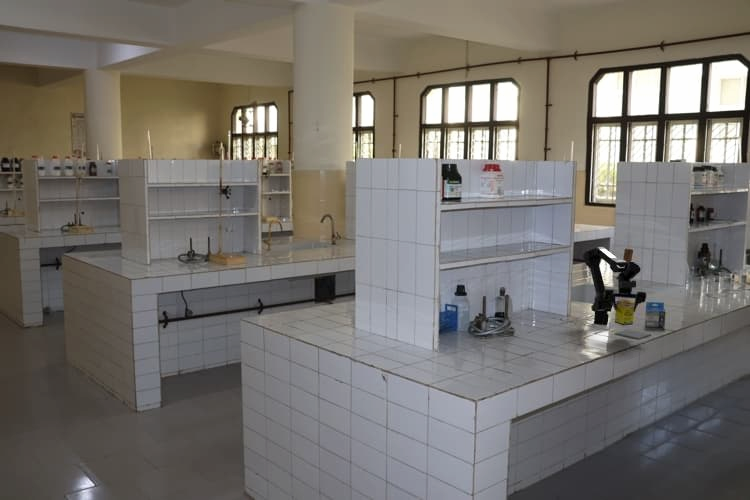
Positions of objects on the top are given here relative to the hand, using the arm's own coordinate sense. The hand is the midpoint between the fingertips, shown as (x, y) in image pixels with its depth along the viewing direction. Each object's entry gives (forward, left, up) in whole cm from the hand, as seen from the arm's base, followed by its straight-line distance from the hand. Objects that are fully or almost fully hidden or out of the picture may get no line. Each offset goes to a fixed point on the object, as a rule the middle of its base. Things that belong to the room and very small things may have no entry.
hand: (625, 310), depth 317 cm
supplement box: (0, +1, -7) cm, 7 cm away
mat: (+4, +8, -13) cm, 16 cm away
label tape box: (+14, +31, -13) cm, 37 cm away
